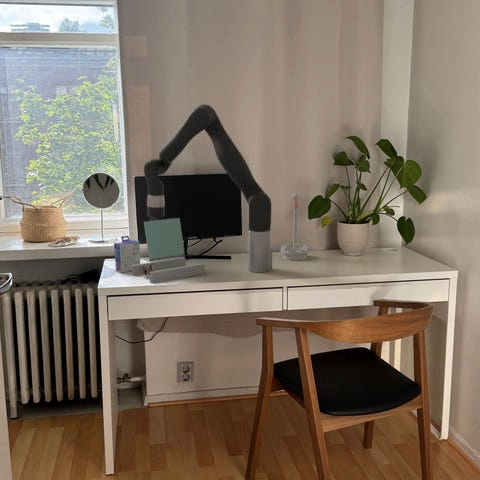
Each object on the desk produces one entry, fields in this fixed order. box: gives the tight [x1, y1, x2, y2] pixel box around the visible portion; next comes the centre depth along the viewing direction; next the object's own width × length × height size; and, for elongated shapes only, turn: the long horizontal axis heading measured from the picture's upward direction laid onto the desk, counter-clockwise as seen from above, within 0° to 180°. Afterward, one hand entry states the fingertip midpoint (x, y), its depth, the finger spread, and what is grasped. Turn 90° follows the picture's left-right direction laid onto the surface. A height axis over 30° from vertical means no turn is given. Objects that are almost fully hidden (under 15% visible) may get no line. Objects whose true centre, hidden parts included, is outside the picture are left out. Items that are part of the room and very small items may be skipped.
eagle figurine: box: [138, 264, 154, 280], centre depth 251 cm, size 8×7×9 cm
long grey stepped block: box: [131, 256, 206, 284], centre depth 258 cm, size 25×17×4 cm
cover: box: [143, 217, 186, 262], centre depth 266 cm, size 17×17×1 cm
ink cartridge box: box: [113, 235, 141, 273], centre depth 265 cm, size 10×6×14 cm, turn 131°
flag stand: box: [280, 192, 310, 261], centre depth 285 cm, size 13×13×30 cm
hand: (156, 244), depth 273 cm, fingers closed
